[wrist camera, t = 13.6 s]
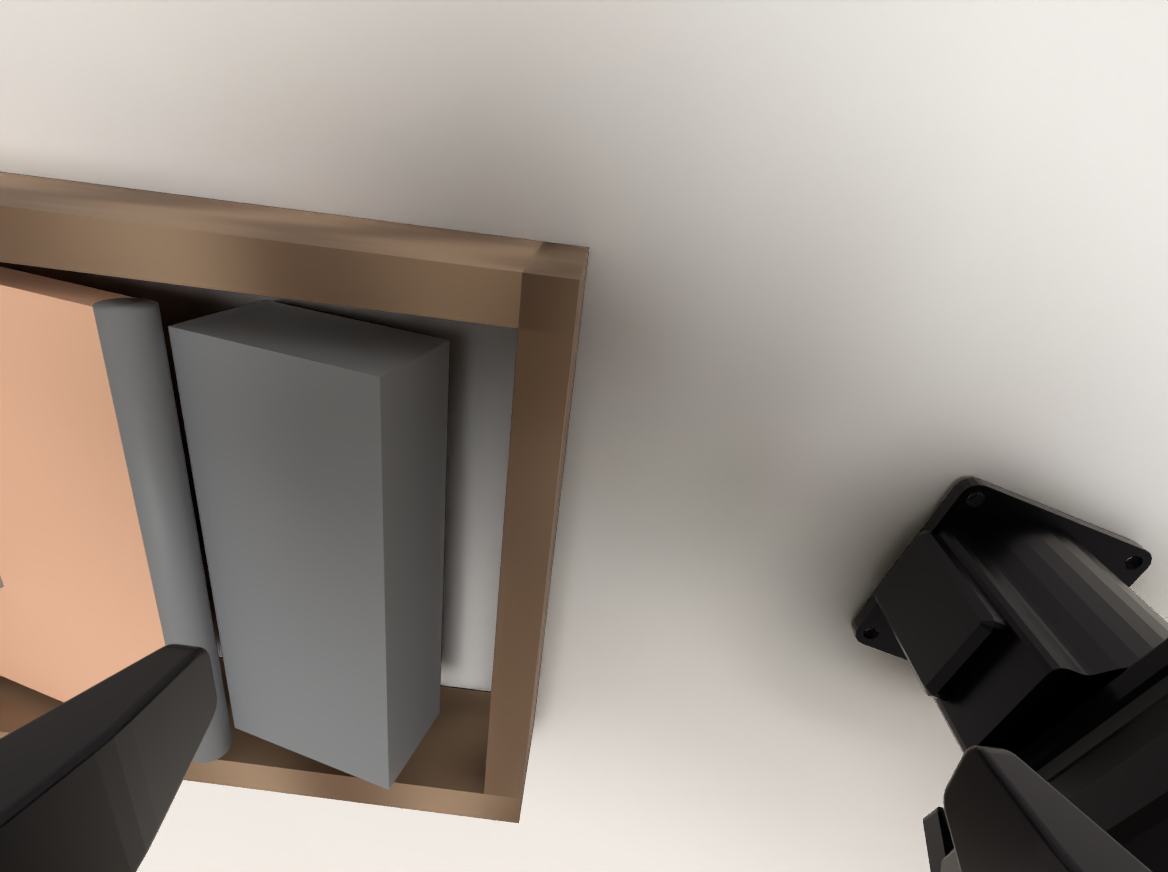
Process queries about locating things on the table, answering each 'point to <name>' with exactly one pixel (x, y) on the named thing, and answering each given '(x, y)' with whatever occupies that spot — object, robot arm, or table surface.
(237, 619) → the flap
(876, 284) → the table surface
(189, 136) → the table surface
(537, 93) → the table surface
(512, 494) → the flap frame
